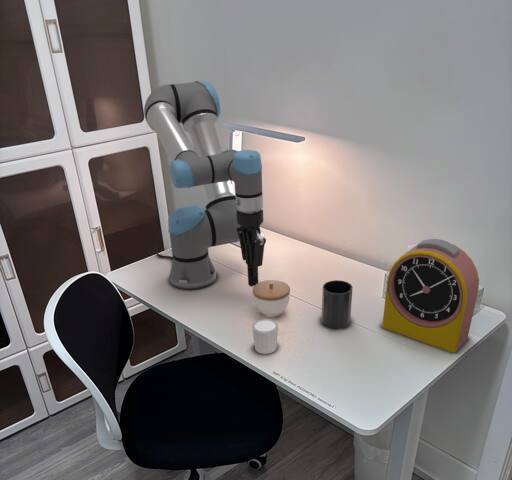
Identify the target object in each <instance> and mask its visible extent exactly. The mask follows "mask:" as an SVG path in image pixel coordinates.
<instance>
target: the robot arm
mask: <svg viewBox="0 0 512 480" xmlns="http://www.w3.org/2000/svg"><path fill="white" fill-rule="evenodd" d="M143 107H144V110H143V111H144V112H143V115H144V119H145V121H146V124H147V125H148V127H149V128H150V129H151V130H152V131H154V132H155V133H156V135H157V137H158V139H159V141H160V142H161V144H162V146H163V149H164V150H165V152H166V154H167V156H168V158H169V160H170V163H169V176H170V179H171V182H172V185H173V186H174V187H175V188H176V189H183V188H185V189H186V188H188V189H189V188H194V187H198V186H199V187H200V186H204V189H205V193H206V197H207V203H206V204H205V209H204V208H203V206H200V205H188V206H183V207H179V208H177V209H176V210H174V211H173V212H172V213H170V214H169V216H168V219H167V223H168V224H167V227H168V229H167V231H168V234H169V241H170V248H171V254H172V256H169V255H163V254H159V251H158V248H154V252H155V254H156V256H157V257H159V258H162V259H163V258H164V259H170V260H172V262H171V267H170V272H169V280H170V281H169V282H170V284H171V285H172V286H173V287H175V288H178V289H182V290H197V289H201V288H205V287H208V286H210V285H211V284H213V283H214V282H215V281H216V279H217V271H216V269H215V267H214V264H213V261H212V259H211V258H210V255H209V248H211V247H218V246H222V245H228V244H234V243H235V244H237V243H238V242H239V246H240V252H241V257H242V260H243V261H245V264H246V268H247V283H248V284H247V285H248V286H249V287H251V288H253V287H254V286H255V285H256V284H257V283H259V268H260V267H262V266H263V261H264V253H265V244H266V242H267V238H265V237H262V235H261V233H262V230H261V227H260V226H261V225H262V224H263V223H264V209H263V208H264V198H263V197H264V195H263V170H262V169H263V163H262V157H261V153H260V152H259V151H257V150H252V149H242V150H236V149H232V148H227V149H224V150H223V149H222V146H221V143H220V138H219V135H218V132H217V128H216V125H217V124H218V122H219V117H220V115H221V104H220V98H219V95H218V92H217V90H216V88H215V87H214V84H212V83H211V82H209V81H207V80H204V81H202V80H201V81H200V80H195V81H192V82H182V83H171V84H169V83H168V84H163V85H160V86H158V87H156V88H154V90H152V91H151V93H149V95H148V97H147V98H146V100H145V104H144V106H143ZM181 124H182V125H181ZM185 132H187V133H189V135H190V140H191V141H190V140H189V138H188V136H187V134H186V133H185ZM232 182H233V183H234V188H233V185H232ZM233 189H234V190H233Z"/></svg>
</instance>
